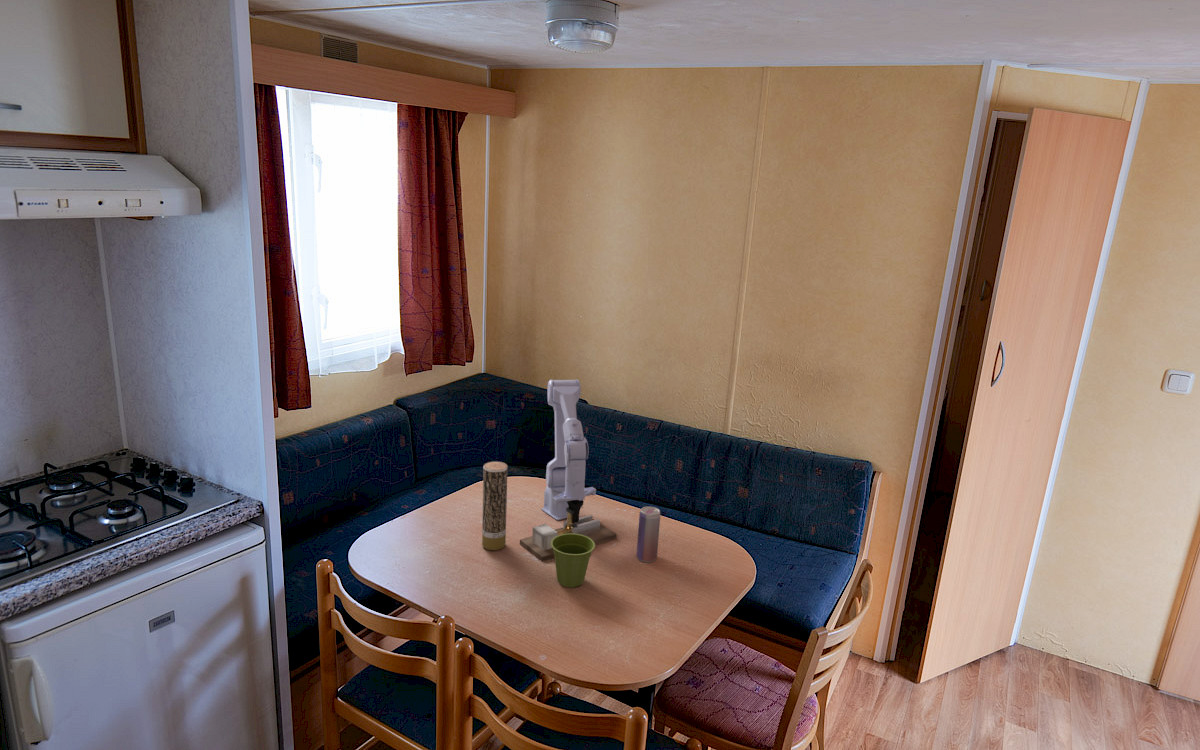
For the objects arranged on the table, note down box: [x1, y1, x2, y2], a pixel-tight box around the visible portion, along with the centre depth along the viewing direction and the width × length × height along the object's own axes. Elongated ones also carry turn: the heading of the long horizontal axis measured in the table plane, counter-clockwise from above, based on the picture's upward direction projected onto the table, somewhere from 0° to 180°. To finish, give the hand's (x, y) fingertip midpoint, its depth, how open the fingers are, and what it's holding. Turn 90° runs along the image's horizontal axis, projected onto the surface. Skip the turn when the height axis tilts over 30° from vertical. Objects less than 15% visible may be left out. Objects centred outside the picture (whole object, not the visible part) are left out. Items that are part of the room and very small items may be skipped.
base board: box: [519, 518, 618, 562], centre depth 223 cm, size 12×27×2 cm, turn 127°
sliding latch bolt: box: [556, 507, 575, 535], centre depth 219 cm, size 3×11×8 cm, turn 127°
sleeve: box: [563, 514, 601, 536], centre depth 225 cm, size 5×10×4 cm, turn 127°
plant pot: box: [551, 533, 596, 588], centre depth 200 cm, size 12×12×11 cm
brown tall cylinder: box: [481, 461, 509, 551], centre depth 215 cm, size 7×7×25 cm
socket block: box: [531, 523, 558, 550], centre depth 217 cm, size 6×4×4 cm
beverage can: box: [635, 505, 661, 563], centre depth 214 cm, size 6×6×15 cm
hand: (573, 521), depth 223 cm, fingers closed, pressing on sliding latch bolt
